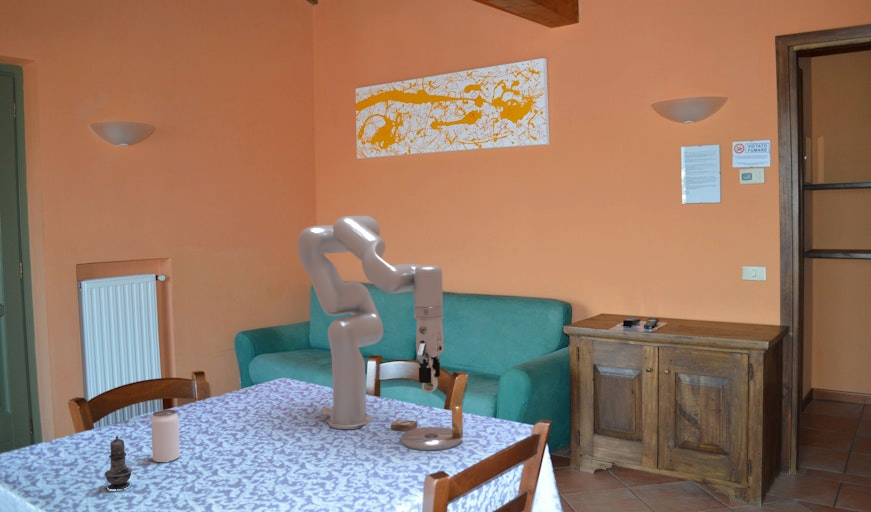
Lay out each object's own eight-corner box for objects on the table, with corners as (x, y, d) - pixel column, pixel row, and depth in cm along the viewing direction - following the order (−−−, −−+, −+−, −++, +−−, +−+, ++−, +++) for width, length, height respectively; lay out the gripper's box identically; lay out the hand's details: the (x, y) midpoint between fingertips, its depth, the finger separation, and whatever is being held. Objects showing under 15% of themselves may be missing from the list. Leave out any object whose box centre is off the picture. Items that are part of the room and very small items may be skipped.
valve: (443, 388, 193) (442, 343, 192) (441, 394, 186) (440, 348, 185) (419, 387, 193) (418, 343, 193) (416, 394, 187) (415, 348, 186)
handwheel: (437, 455, 179) (436, 418, 179) (388, 443, 189) (388, 408, 188) (473, 438, 192) (472, 404, 192) (426, 428, 202) (425, 395, 201)
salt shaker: (110, 482, 167) (108, 432, 166) (136, 481, 167) (134, 431, 166) (100, 492, 161) (98, 440, 160) (128, 491, 161) (125, 438, 160)
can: (185, 456, 185) (183, 410, 184) (168, 464, 178) (166, 416, 178) (164, 453, 187) (162, 408, 186) (147, 461, 181) (145, 415, 180)
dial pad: (391, 432, 201) (390, 423, 201) (397, 427, 206) (397, 418, 206) (411, 434, 199) (411, 425, 199) (417, 429, 204) (416, 420, 204)
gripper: (431, 317, 179) (433, 388, 180) (451, 308, 196) (452, 373, 197) (403, 316, 181) (405, 386, 182) (425, 307, 198) (426, 371, 199)
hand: (429, 378), depth 190 cm, fingers closed on valve, 6 cm apart
